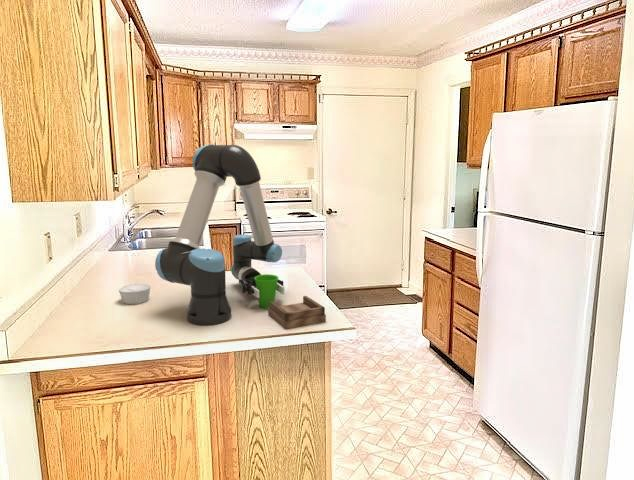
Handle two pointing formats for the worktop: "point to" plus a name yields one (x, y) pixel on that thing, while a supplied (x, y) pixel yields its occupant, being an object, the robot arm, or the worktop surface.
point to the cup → (266, 288)
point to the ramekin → (135, 293)
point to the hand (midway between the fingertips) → (271, 292)
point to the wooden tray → (297, 313)
